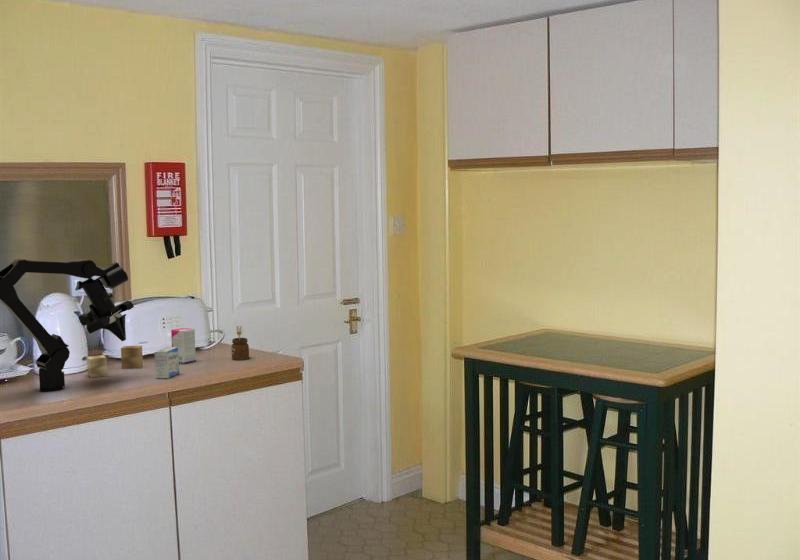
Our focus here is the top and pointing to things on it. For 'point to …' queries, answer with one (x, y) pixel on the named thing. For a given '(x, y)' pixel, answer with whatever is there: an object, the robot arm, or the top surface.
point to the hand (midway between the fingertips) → (124, 340)
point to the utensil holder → (240, 347)
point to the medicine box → (167, 362)
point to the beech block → (97, 366)
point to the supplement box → (184, 344)
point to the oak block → (131, 357)
